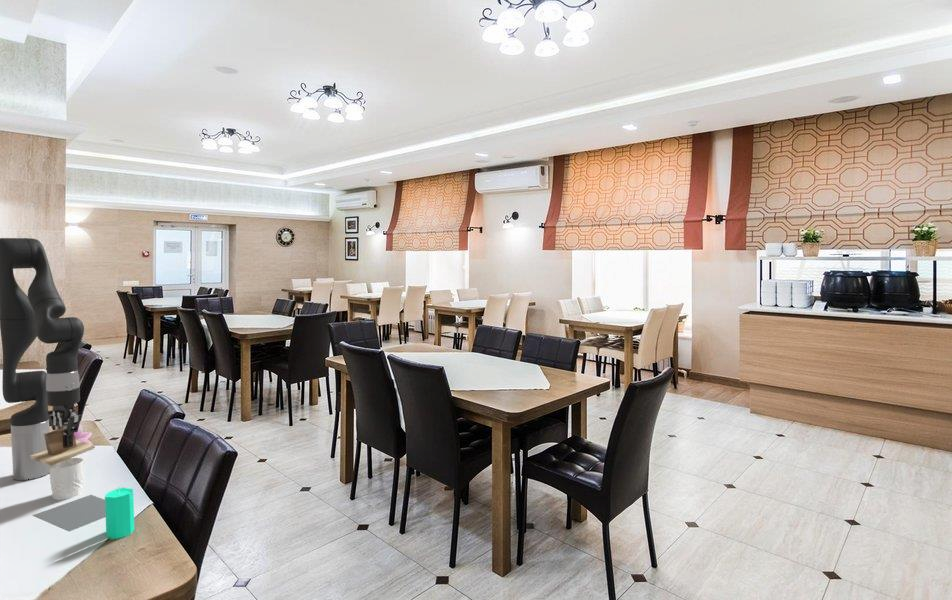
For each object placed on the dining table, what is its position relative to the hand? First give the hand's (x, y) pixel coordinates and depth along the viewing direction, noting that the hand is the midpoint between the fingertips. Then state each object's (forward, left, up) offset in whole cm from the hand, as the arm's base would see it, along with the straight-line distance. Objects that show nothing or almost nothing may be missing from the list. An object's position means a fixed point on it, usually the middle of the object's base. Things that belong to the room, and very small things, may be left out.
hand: (65, 445), depth 149 cm
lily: (-38, +21, -15) cm, 46 cm away
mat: (+15, -4, -15) cm, 21 cm away
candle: (+35, -5, -15) cm, 38 cm away
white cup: (0, 0, -15) cm, 15 cm away
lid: (0, -1, -2) cm, 2 cm away
